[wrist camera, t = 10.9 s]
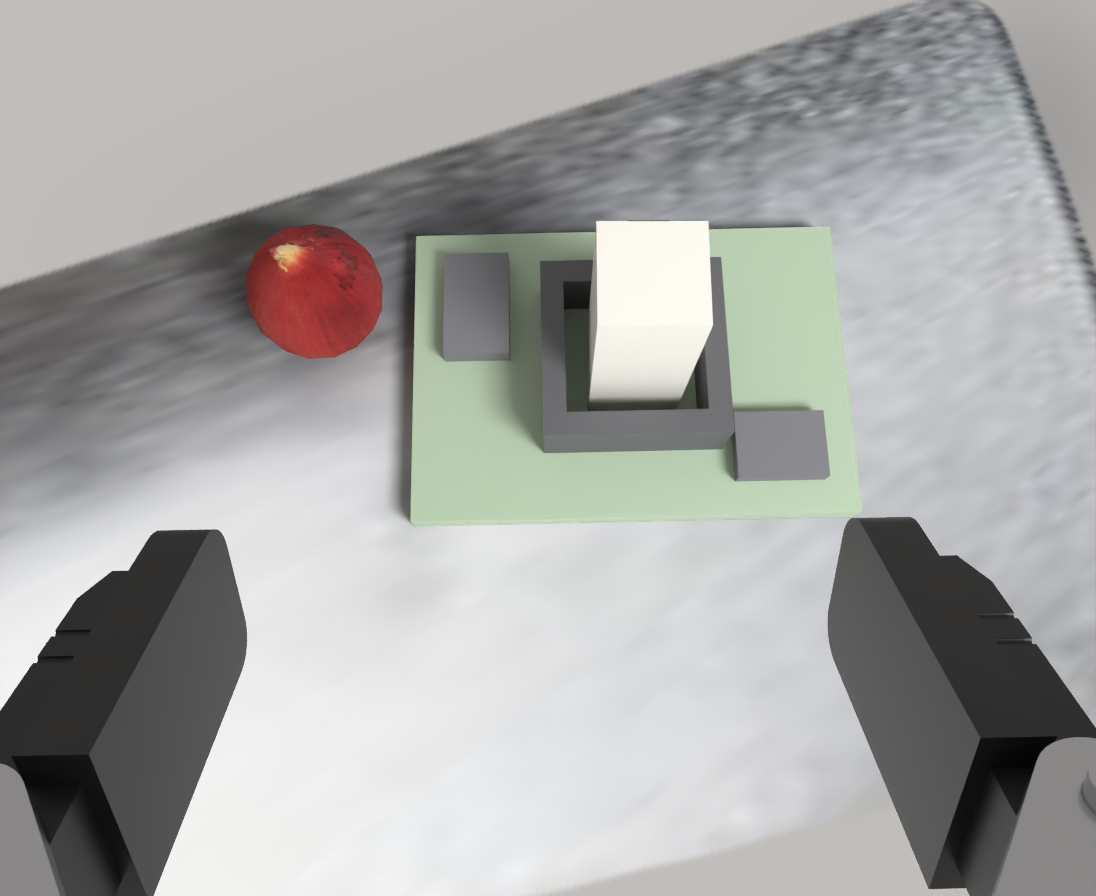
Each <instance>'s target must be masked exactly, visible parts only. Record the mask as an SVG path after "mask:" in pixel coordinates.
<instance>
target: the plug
mask: <svg viewBox="0 0 1096 896" xmlns="http://www.w3.org/2000/svg"><path fill="white" fill-rule="evenodd" d="M712 327H713V312H712V290H711V269H710V247H709V225H708V221H671V220H628V221H596V233H595V245H594V257H593V268H592V280H591V292H590V304H589V316H588V328H587V351H588V411H632V410H676V409H677V406H678V404H679V402H680V400H681V397H682V395H683V393H684V390H685V388H686V386H687V384H688V381H689V379H690V377H691V374H692V372H693V370H694V368H695V365H696V363H697V361H698V359H699V356H700V354H701V352H702V349H703V347H704V345H705V343H706V340H707V338H708V336H709V333H710V331H711V329H712Z"/></svg>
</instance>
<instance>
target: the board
mask: <svg viewBox="0 0 1096 896" xmlns="http://www.w3.org/2000/svg"><path fill="white" fill-rule="evenodd" d="M595 233H596V232H571V233H528V234H486V235H443V236H416V272H415V320H414V369H413V418H412V467H411V515H410V522H411V523H412V524H413V525H414V526H455V525H501V524H547V523H593V522H639V521H685V520H732V519H778V518H824V517H854V516H856V515H858V514H860V513H861V512H862V504H861V495H860V487H859V478H858V469H857V460H856V452H855V443H854V434H853V425H852V416H851V408H850V399H849V390H848V381H847V373H846V364H845V355H844V346H843V337H842V329H841V320H840V311H839V302H838V293H837V285H836V276H835V267H834V258H833V250H832V241H831V232H830V226H826V227H784V228H741V229H709V247H710V269H711V290H712V312H713V327H712V329H711V331H710V333H709V336H708V338H707V340H706V343H705V345H704V347H703V349H702V352H701V354H700V356H699V359H698V361H697V363H696V365H695V368H694V370H693V372H692V374H691V377H690V379H689V381H688V384H687V386H686V388H685V390H684V393H683V395H682V397H681V400H680V402H679V404H678V406H677V409H676V410H632V411H588V351H587V328H588V316H589V304H590V292H591V280H592V268H593V257H594V245H595Z"/></svg>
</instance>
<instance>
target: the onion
mask: <svg viewBox="0 0 1096 896" xmlns="http://www.w3.org/2000/svg"><path fill="white" fill-rule="evenodd" d="M246 294H247V305H248V307H249V309H250V312H251V314H252V315H253V317H254V319H255V321H256V323H257V325H258V327H259V329H260V331H261V332H262V333H264V334H265V335H266V336H267V337H268V338H270V339H271V340H272V341H273V342H275V343H276V344H277V345H278V346H279V347H281V348H282V349H284V350H285V351H287V352H290V353H293V354H296V355H300V356H303V357H306V358H329V357H336V356H338V355H340V354H342V353H344V352H346V351H349V350H351V349H353V348H355V347H357V346H358V345H359V344H360V343H361V342H362V341H363V340H364V339H365V338H366V336H367V335H368V334H369V333H370V332H371V331H372V330H373V328H374V326H375V324H376V322H377V319H378V317H379V315H380V313H381V310H382V282H381V277H380V274H379V272H378V270H377V268H376V265H375V263H374V261H373V259H372V257H371V255H370V254H369V252H368V251H367V250H366V249H365V248H364V247H363V246H362V245H361V244H359V243H358V242H357V241H355V240H354V239H353V238H352V237H350V236H349V235H348V234H347V233H345V232H344V231H342V230H340V229H338V228H334V227H327V226H321V225H315V224H312V225H306V226H297V227H288V228H285V229H283V230H281V231H280V232H278V233H276V234H274V235H272V236H270V237H269V238H268V239H267V240H266V241H265V242H264V243H263V245H262V246H261V247H260V248H259V249H258V250H257V251H256V253H255V255H254V257H253V260H252V262H251V265H250V267H249V269H248V271H247V274H246Z"/></svg>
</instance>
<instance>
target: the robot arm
mask: <svg viewBox="0 0 1096 896" xmlns="http://www.w3.org/2000/svg"><path fill="white" fill-rule="evenodd" d="M1013 613H1014V612H1013V611H1012V609H1011V608H1010V606H1009V605H1008V603H1007V602H1006V601H1005V599H1004V598H1003V596H1002V595H1001V594H1000V592H999V591H998V589H997V588H996V587H995V585H994V584H993V582H992V581H991V580H989V579H988V578H987V577H985V576H984V575H982V574H981V573H980V572H978V571H977V570H976V569H974V568H973V567H972V566H970V565H969V564H968V563H966V562H965V561H964V560H962V559H961V558H960V557H958V556H957V555H955V556H939V554H938V553H937V551H936V550H935V548H934V546H933V545H932V543H931V542H930V540H929V539H928V537H927V536H926V534H925V533H924V531H923V530H922V528H921V527H920V525H919V524H918V522H917V521H916V520H915V519H913V518H911V517H886V518H852V519H850V520H849V521H848V522H847V524H846V526H845V529H844V533H843V538H842V543H841V548H840V553H839V558H838V563H837V569H836V574H835V579H834V584H833V589H832V594H831V600H830V605H829V611H828V636H829V643H830V648H831V652H832V656H833V659H834V661H835V664H836V666H837V669H838V671H839V673H840V676H841V678H842V681H843V683H844V686H845V688H846V690H847V693H848V695H849V698H850V700H851V702H852V705H853V707H854V710H855V712H856V715H857V717H858V719H859V722H860V724H861V727H862V729H863V731H864V734H865V736H866V739H867V741H868V743H869V746H870V748H871V751H872V753H873V756H874V758H875V760H876V763H877V765H878V768H879V770H880V772H881V775H882V777H883V780H884V782H885V784H886V787H887V789H888V792H889V794H890V797H891V799H892V801H893V804H894V806H895V809H896V811H897V813H898V816H899V818H900V821H901V823H902V825H903V828H904V830H905V833H906V835H907V837H908V840H909V842H910V845H911V847H912V850H913V852H914V854H915V857H916V859H917V862H918V864H919V866H920V869H921V871H922V874H923V876H924V879H925V881H926V883H927V886H928V888H929V889H945V888H946V889H947V888H967V891H968V893H969V895H970V896H1096V728H1095V726H1094V725H1093V724H1092V722H1091V721H1090V719H1089V718H1088V716H1087V715H1086V714H1085V712H1084V711H1083V709H1082V708H1081V707H1080V705H1079V704H1078V702H1077V701H1076V700H1075V698H1074V697H1073V695H1072V694H1071V692H1070V691H1069V690H1068V688H1067V687H1066V685H1065V684H1064V683H1063V681H1062V680H1061V678H1060V677H1059V675H1058V674H1057V673H1056V671H1055V670H1054V668H1053V667H1052V666H1051V664H1050V663H1049V661H1048V660H1047V659H1046V657H1045V656H1044V654H1043V653H1042V651H1041V650H1040V649H1039V647H1038V646H1037V644H1032V641H1031V639H1032V637H1031V636H1030V635H1029V633H1028V632H1027V630H1026V629H1025V627H1024V626H1023V625H1022V623H1021V622H1020V620H1019V619H1018V618H1014V615H1013ZM246 647H247V628H246V621H245V616H244V612H243V608H242V604H241V600H240V596H239V592H238V588H237V584H236V580H235V576H234V572H233V568H232V564H231V560H230V556H229V552H228V548H227V545H226V541H225V539H224V536H223V535H222V533H221V532H220V531H219V530H168V531H156V532H154V533H153V534H152V535H151V536H150V538H149V539H148V541H147V542H146V544H145V545H144V547H143V548H142V550H141V552H140V553H139V555H138V556H137V558H136V560H135V561H134V563H133V564H132V566H131V567H130V569H129V571H112V572H111V573H109V574H108V575H107V576H105V577H104V578H103V579H102V580H100V581H99V582H98V583H96V584H95V585H94V586H93V587H91V588H90V589H89V590H88V591H86V592H85V593H84V594H82V595H81V596H80V597H79V598H77V600H76V601H75V602H74V604H73V605H72V607H71V608H70V610H69V611H68V613H67V614H66V616H65V617H64V619H63V620H62V621H61V623H60V624H59V626H58V627H57V629H56V635H55V637H51V638H50V639H49V641H48V642H47V643H46V645H45V646H44V648H43V649H42V651H41V652H40V654H39V655H38V662H37V663H33V664H32V665H31V667H30V668H29V670H28V671H27V673H26V674H25V676H24V677H23V679H22V680H21V682H20V683H19V684H18V686H17V687H16V689H15V690H14V692H13V693H12V695H11V696H10V698H9V699H8V701H7V702H6V703H5V705H4V706H3V708H2V709H1V711H0V896H153V895H154V893H155V890H156V888H157V885H158V883H159V880H160V877H161V875H162V872H163V870H164V867H165V865H166V862H167V860H168V857H169V855H170V852H171V849H172V847H173V844H174V842H175V839H176V837H177V834H178V832H179V829H180V827H181V824H182V822H183V819H184V816H185V814H186V811H187V809H188V806H189V804H190V801H191V799H192V796H193V794H194V791H195V788H196V786H197V783H198V781H199V778H200V776H201V773H202V771H203V768H204V766H205V763H206V760H207V758H208V755H209V753H210V750H211V748H212V745H213V743H214V740H215V738H216V735H217V733H218V730H219V727H220V725H221V722H222V720H223V717H224V715H225V712H226V710H227V707H228V705H229V702H230V699H231V697H232V694H233V692H234V689H235V687H236V684H237V682H238V679H239V677H240V674H241V671H242V668H243V665H244V661H245V656H246Z"/></svg>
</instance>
